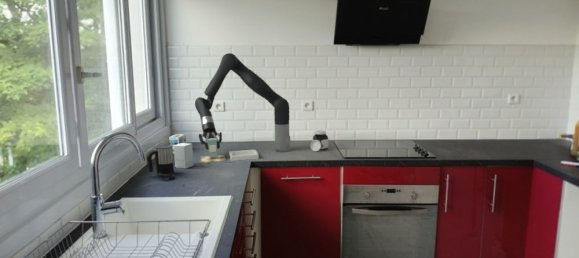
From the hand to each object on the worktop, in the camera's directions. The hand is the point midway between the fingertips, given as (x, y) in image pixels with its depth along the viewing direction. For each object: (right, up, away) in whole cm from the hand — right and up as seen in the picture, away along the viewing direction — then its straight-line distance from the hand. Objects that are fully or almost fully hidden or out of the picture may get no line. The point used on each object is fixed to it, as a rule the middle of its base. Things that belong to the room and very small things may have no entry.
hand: (213, 148), depth 244 cm
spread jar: (+63, -2, +24) cm, 68 cm away
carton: (0, -4, +2) cm, 5 cm away
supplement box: (-14, -10, -11) cm, 20 cm away
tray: (+17, -6, +6) cm, 19 cm away
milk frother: (-19, -13, -29) cm, 37 cm away
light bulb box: (-27, -4, +26) cm, 37 cm away
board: (0, -7, +3) cm, 7 cm away
